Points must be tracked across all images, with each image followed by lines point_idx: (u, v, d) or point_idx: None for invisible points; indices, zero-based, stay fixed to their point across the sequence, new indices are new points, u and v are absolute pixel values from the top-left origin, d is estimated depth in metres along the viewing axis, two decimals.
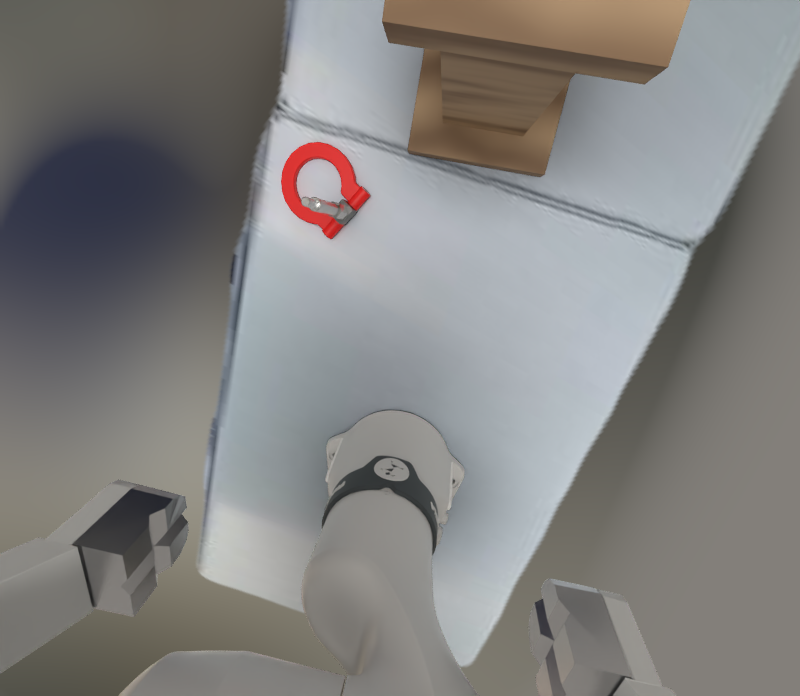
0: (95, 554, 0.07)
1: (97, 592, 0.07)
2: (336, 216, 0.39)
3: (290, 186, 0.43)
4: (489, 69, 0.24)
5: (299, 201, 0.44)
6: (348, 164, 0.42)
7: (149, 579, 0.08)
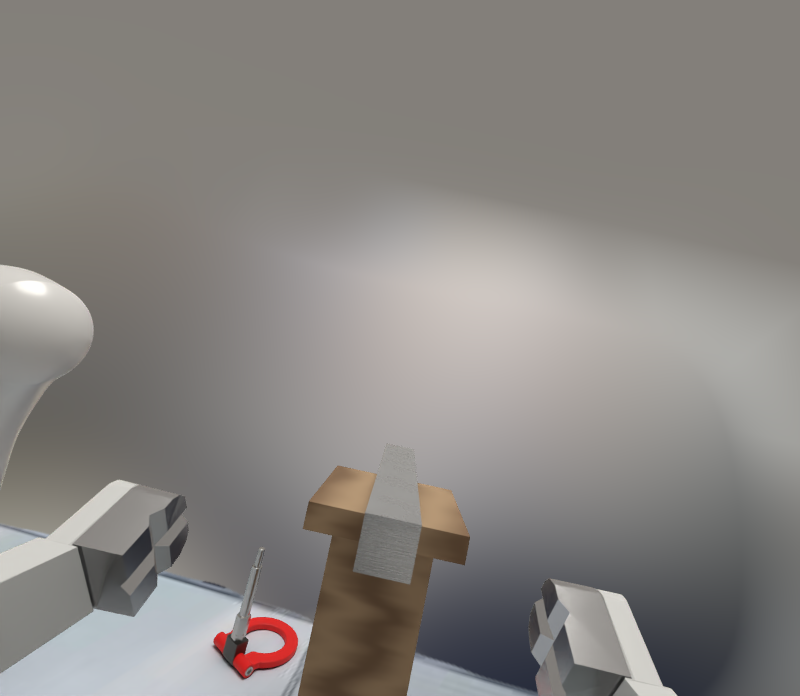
0: (95, 554, 0.07)
1: (97, 592, 0.07)
2: (238, 615, 0.46)
3: (267, 622, 0.52)
4: None
5: (254, 624, 0.51)
6: (275, 660, 0.46)
7: (150, 579, 0.08)
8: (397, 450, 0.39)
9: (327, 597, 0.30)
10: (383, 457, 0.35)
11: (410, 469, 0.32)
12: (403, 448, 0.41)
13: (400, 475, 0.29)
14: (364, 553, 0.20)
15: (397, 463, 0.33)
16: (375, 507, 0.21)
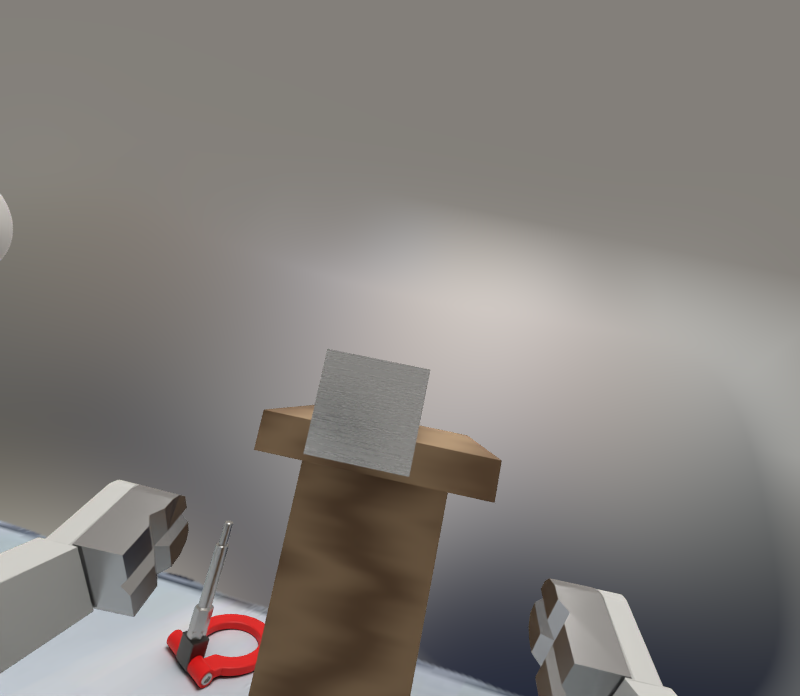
0: (95, 554, 0.07)
1: (97, 592, 0.07)
2: (196, 606, 0.36)
3: (239, 619, 0.42)
4: None
5: (221, 622, 0.41)
6: (243, 665, 0.36)
7: (149, 579, 0.08)
8: None
9: (293, 557, 0.21)
10: None
11: None
12: None
13: None
14: (325, 420, 0.11)
15: None
16: None
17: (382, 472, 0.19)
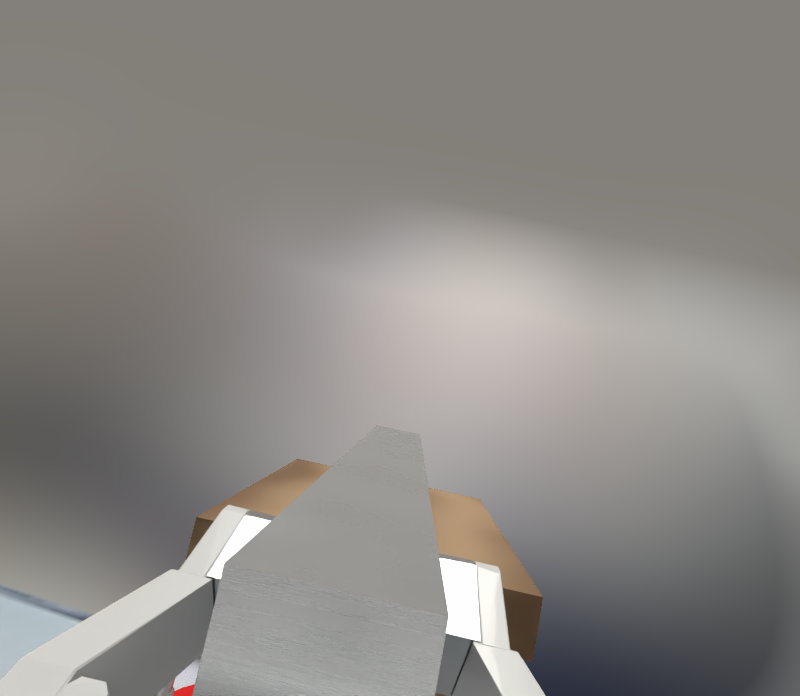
0: None
1: None
2: None
3: None
4: None
5: None
6: None
7: None
8: (392, 433, 0.24)
9: None
10: (365, 438, 0.20)
11: (412, 456, 0.17)
12: (403, 432, 0.26)
13: (391, 463, 0.14)
14: None
15: (389, 446, 0.18)
16: (285, 539, 0.06)
17: None
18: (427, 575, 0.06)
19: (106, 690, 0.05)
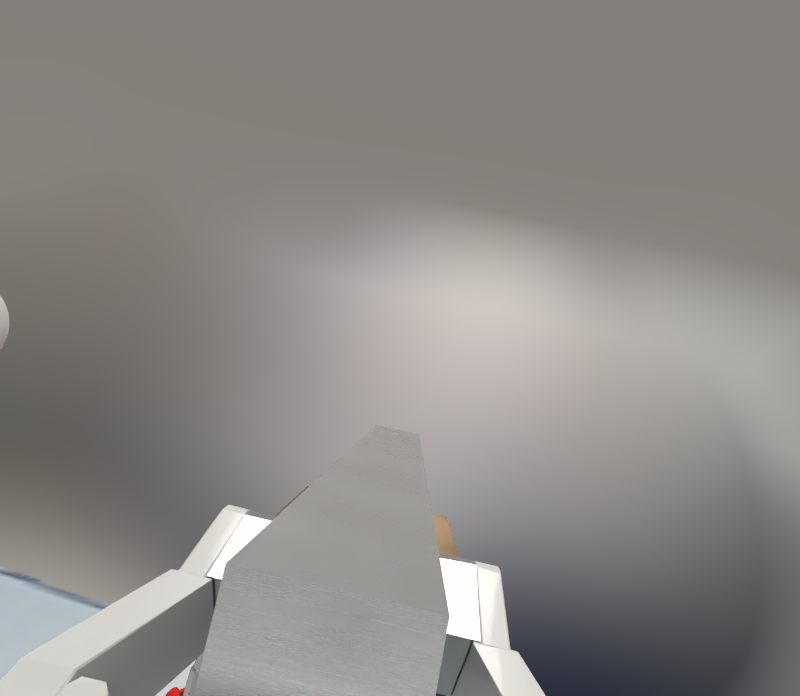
0: None
1: None
2: (192, 668, 0.38)
3: None
4: None
5: None
6: None
7: None
8: (392, 433, 0.24)
9: None
10: (364, 438, 0.20)
11: (412, 456, 0.17)
12: (402, 432, 0.26)
13: (390, 463, 0.14)
14: None
15: (388, 446, 0.18)
16: (286, 539, 0.06)
17: None
18: (427, 575, 0.06)
19: (106, 690, 0.05)
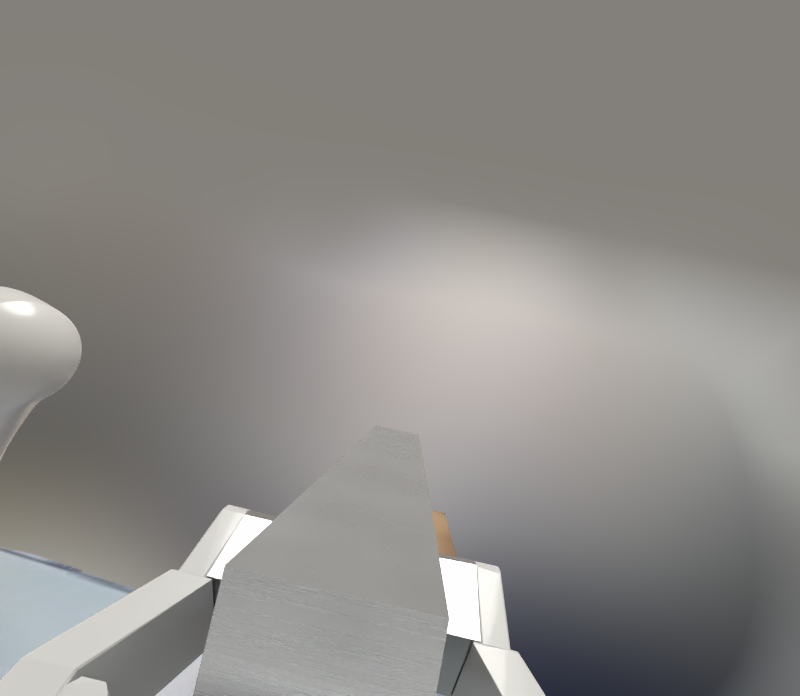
0: None
1: None
2: None
3: None
4: None
5: None
6: None
7: None
8: (391, 433, 0.24)
9: None
10: (364, 438, 0.20)
11: (411, 456, 0.17)
12: (402, 432, 0.26)
13: (390, 463, 0.14)
14: None
15: (388, 447, 0.18)
16: (285, 541, 0.06)
17: None
18: (427, 576, 0.06)
19: (106, 690, 0.05)
